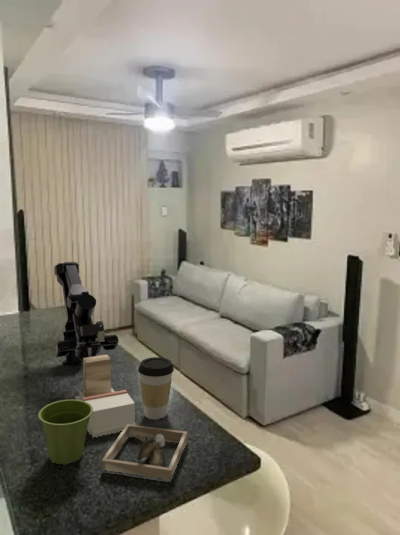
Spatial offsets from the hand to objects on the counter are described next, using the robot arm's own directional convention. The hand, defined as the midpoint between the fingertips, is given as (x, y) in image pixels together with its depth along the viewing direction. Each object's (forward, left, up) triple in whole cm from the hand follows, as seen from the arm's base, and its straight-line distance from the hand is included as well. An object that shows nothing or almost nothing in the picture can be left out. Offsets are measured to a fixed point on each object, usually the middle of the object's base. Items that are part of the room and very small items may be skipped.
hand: (92, 370), depth 128 cm
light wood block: (+5, +4, -6) cm, 8 cm away
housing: (+11, +8, -7) cm, 15 cm away
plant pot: (+31, +8, -8) cm, 33 cm away
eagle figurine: (+29, +28, -8) cm, 41 cm away
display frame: (+27, +26, -7) cm, 39 cm away
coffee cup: (+7, +22, -8) cm, 25 cm away
